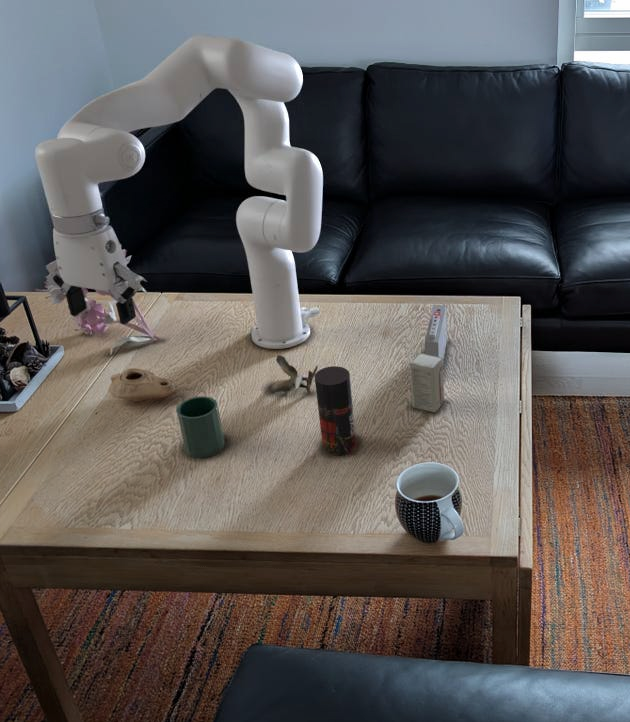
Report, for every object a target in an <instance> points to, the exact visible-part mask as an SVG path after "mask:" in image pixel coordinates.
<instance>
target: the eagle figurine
mask: <svg viewBox="0 0 630 722" xmlns="http://www.w3.org/2000/svg"><path fill="white" fill-rule="evenodd" d="M275 360H276V363H277V364H278V366H279V367H280V369H281V370H282V371H283V373H284V374H286V375H287V376H289V379H284V380H283V379H282V380H278V381H276V382H274V383H273V384H270V385H269V386H268V388H267V389H268V392H269V393H270V394H275V393H281V392H283V393H287V392H290V391H291V389H293V387H295V390H298V389H299V388H302V389H305V390H306V392H307V394H308V395H310V394H311V386H312V383H313V380H314V379H315V374H316V373H317V372H318V368H319V365H315V367H314V369H313V370H312V371H311V370H310V369H309V370H308V373H307V377H304V376H303V375H302V374H299V373H298V370H297V369H296V368H295V367H294V365H291V364H290V363H289V362H288V361H287V359H286V358H285V356H284V355H280V354H278V355H276V359H275ZM298 374H299V375H298ZM302 381H303V382H304V381H305V382H306V385H305V384H304V383H302Z"/></svg>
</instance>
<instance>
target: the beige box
mask: <svg viewBox="0 0 630 722" xmlns="http://www.w3.org/2000/svg"><path fill="white" fill-rule="evenodd" d="M409 372H410V373H409V374H410V386H411V402H412V403H411V404H412V408H415V409H419V410H423V411H427V412H431V413H436V412H437V411H438V410H439V409H440V408H441V407H442V406H443V404H444V403H445V381H444V358H441V357H437V356H433V355H428V354H425V353H424V352H420V353H419V354H418V355H416V356H415V357H414V358H413V359H412V360H411V361H410V362H409Z"/></svg>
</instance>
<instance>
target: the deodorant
mask: <svg viewBox="0 0 630 722" xmlns="http://www.w3.org/2000/svg"><path fill="white" fill-rule="evenodd" d="M349 371H350V370H348V369H347V368H346V367H342V366H339V365H337V366H336V365H333V366H326V367H323V368H321V369H319V370H317V371H316V373H315V376H314V382H315V392H316V393H315V394H316V400H317V401H316V402H317V408H318V418H319V419H318V420H319V427H320V435H321V443H322V450H323V451H324V452H325V453H326V454H327V455H330V456H335V457H336V456H337V457H338V456H340V457H341V456H344V455H347V454H350V453H352V452H353V451H354V450H355V448H356V446H357V440H356V431H355V418H354V408H353V396H352V395H353V394H352V385H351V374H350V372H349Z"/></svg>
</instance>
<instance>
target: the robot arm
mask: <svg viewBox="0 0 630 722" xmlns="http://www.w3.org/2000/svg"><path fill="white" fill-rule="evenodd" d="M303 81H304V79H303V72H302V69H301V66H300V64H299V63H298V61H297V60H296V59H295V58H294V57H293V56H291V55H289V54H287V53H285V52H281V51H278V50H274V49H271V48H269V47H265V46H262V45H260V44H259V45H258V44H256V43H253V42H250V41H248V40H243V39H240V38H234V37H227V36H225V37H224V36H219V35H218V36H217V35H211V34H210V35H209V34H197V35H194V36H191V37H189V38H188V39H186V40H185V42H184V41H183V43H182V44H181V45H180V46H179V47H177V49H175V50H174V51H173V52H171V54H169V55H168V56H167V57H166V58H165V59H164V60H162V62H161V63H159V64H158V65H157V66H156V67H154V69H152V70H151V71H150V72H149V73H148V74H146V75H145V76H144V77H143V78H141V79H139V80H136V81H134V82H133V81H132V82H131V83H128V84H125V85H123V86H122V87H119V88H117V89H113V90H111V91H109V92H107V93H104V94H102V95H100V96H98V97H96V98H94V99H92V100H91V101H90V102H88V103H87V104H85V105H84V106H83V107H81V108H80V109H79V110H78V111H77V112H76V113H75V114H74V115H72V116H71V117H70V118H69V119H68V120H67V121H66V122H65V123H64V125H63V126H61V128H60V130H59V132H58V134H57V137H56V138H52V139H48V140H44V141H42V142H41V143H38V145H37V146H36V147H35V151H34V158H35V161H36V165H37V168H38V173H39V176H40V180H41V184H42V187H43V191H44V195H45V198H46V199H45V200H46V203H47V205H48V208H49V213H50V217H51V221H52V224H53V225H52V226H53V228H52V233H53V234H52V238H53V248H54V255H55V260H53V261H51V262H50V263H48V264H46V265H45V269H46V270H47V272H48V273H49V274H51V276H53V280H54V282H55V283H56V284H57V285H58V286H59V287H61V289H60V290H61V292H62V293H63V294H66V298H65V299H66V302H67V307H68V306H69V309H70V310H69V309H68V310H69V314H70V313H71V314H70V316H72V317H73V316H76V315H78V314H79V313H81V312H82V311H84V310H85V309H86V308H87V306H86V302H85V298H84V294H83V290H82V288H81V287H83V288H86V289H90V290H95V291H96V290H102V291H110V292H111V293H112V295H113V296H114V297H115V298H116V299H117V300H118V301H119V302H117V303H116V306H115V307H116V310H117V315H118V318H119V319H118V320H120V323H121V324H120V323H119V324H120V325H123V324H124V325H123V326H125V324H127V323H130V322H131V321H132V320H133V319H134V318H135V317H136V316H137V313H136V310H135V308H134V305H133V300H134V299H133V298H134V297H135V295H136V294H137V292H138V290H139V284H140V285H141V281H142V280H141V278H140V276H141V275H139V274H137V273H135V272H133V271H132V270H131V269H130V268H129V269H127V268H128V266H127V265H128V264H127V265H126V262H125V258H126V257H125V258H124V255H123V254H124V253H123V252H122V250H123V249H122V245H121V246H120V244H121V243H120V241H119V239H118V237H117V234H116V232H115V230H114V228H113V226H112V225H109V224H110V217H109V216H106V214H105V211H104V207H103V206H104V205H103V202H102V198H101V193H100V189H99V184H100V183H106V182H112V181H113V182H114V181H118V180H124V179H128V178H130V177H132V176H135V174H137V173H138V172H140V170H141V169H142V167H143V166H144V163H145V160H146V151H145V147H144V145H143V143H142V142H141V141H140V139H139V138H138V137H136V136H135V135H134V134H132V132H133V131H137V130H141V129H148V128H155V127H161V126H166V125H170V124H174V123H177V122H180V121H183V119H185V118H186V117H187V116H188V115H189V114H190V113H191V112H192V111H193V110H194V109H195V108H196V107H197V106H198V105H199V104H200V103H201V102H202V101H203V100H204V99H205V98H206V97H207V96H209V94H211V93H212V92H213V91H214V90H215V89H223V90H224V89H225V90H226V91H228V92H229V94H231V95H232V96H233V97H234V99H235V100H236V102H237V103H238V105H239V107H240V109H241V112H242V115H243V116H242V117H243V120H244V121H243V123H244V174H245V179H246V182H247V183H248V184H249V185H250V186H251V187H252V188H254V189H257V190H261V191H264V192H267V193H272V194H277V195H282V196H285V200H283V199H278V198H274V197H269V196H262V195H261V196H260V195H259V196H258V195H257V196H256V195H255V196H251V197H248V198H246V199H245V200H243V201H242V202H241V204H239V207H238V208H237V210H236V216H235V223H236V228H237V231H238V234H239V237H240V239H241V242H242V245H243V248H244V252H245V256H246V260H247V267H248V271H249V279H250V285H251V292H252V299H253V304H254V312H255V319H256V326H254V328H253V329H252V331H251V333H250V334H251V340H252V342H253V344H255V345H257V346H259V347H261V348H264V349H269V350H271V349H272V350H282V349H288V348H293V347H295V346H297V345H300V344H302V343H304V342H305V341H306V340H307V339H308V338H309V337H310V335H311V328H310V325H309V324H308V323H307V322H309V319H311V318H314V317H316V316H318V315H320V311H319V308H318V307H316V306H313V307H311V308H309V309H307V307H306V306H302V307H301V304H300V303H301V302H300V295H299V288H298V279H297V271H296V262H295V258H294V255H293V253H300V254H301V253H307V252H310V251H311V250H312V249H313V248H314V247H316V245H317V243H318V241H319V238H320V235H321V229H322V214H323V213H322V211H323V192H324V191H323V187H324V175H323V174H324V173H323V169H322V165H321V163H320V161H319V158H318V157H317V156H316V155H315V154H314V153H313V152H312V151H310V150H307V149H304V148H300V147H295V146H292V145H291V143H290V118H289V113H288V110H287V107H286V105H285V103H288V102H291V101H293V100H294V99H295V98H296V97H297V96H298V95H299V94H300V92H301V89H302V88H303V87H302V86H303V83H304V82H303ZM138 275H139V276H138ZM125 281H127V282H128V285H127V283H126V282H125ZM115 282H116V283H115ZM114 283H115V284H114ZM118 287H120V288H121V289H122V290H123V291H124V292H123V294H122V293H121V292H120V291H119V290H118V289H117V288H118ZM132 299H133V300H132ZM134 320H135V319H134Z"/></svg>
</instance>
